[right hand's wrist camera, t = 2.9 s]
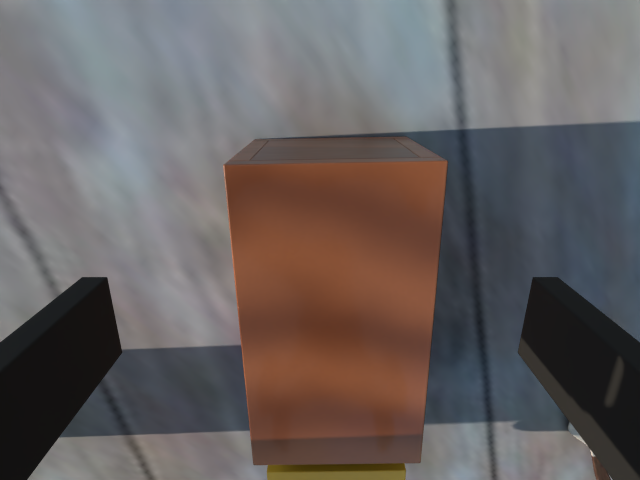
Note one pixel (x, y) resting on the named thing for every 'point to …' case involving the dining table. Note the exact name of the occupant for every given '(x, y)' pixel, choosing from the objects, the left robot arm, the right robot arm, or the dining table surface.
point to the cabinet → (336, 294)
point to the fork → (599, 470)
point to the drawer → (337, 472)
